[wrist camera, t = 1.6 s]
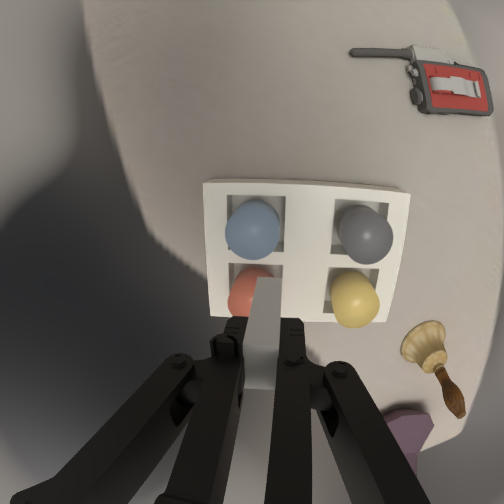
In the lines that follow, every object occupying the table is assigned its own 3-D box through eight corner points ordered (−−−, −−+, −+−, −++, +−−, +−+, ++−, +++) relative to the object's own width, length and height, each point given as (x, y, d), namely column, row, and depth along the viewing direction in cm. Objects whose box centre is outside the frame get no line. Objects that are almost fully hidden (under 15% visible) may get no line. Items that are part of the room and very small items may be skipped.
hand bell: (450, 317, 35) (497, 386, 21) (436, 357, 38) (471, 426, 24) (406, 323, 36) (447, 402, 22) (395, 363, 39) (422, 441, 25)
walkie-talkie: (475, 59, 22) (345, 47, 25) (492, 53, 18) (354, 35, 21) (487, 118, 25) (361, 116, 28) (506, 118, 21) (372, 112, 24)
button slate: (232, 199, 29) (224, 207, 26) (280, 200, 29) (279, 208, 25) (232, 244, 31) (225, 258, 27) (279, 246, 31) (278, 261, 27)
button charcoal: (338, 203, 28) (346, 212, 24) (383, 206, 28) (396, 215, 24) (334, 248, 30) (341, 263, 26) (377, 250, 29) (388, 265, 26)
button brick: (233, 265, 32) (226, 282, 28) (278, 267, 31) (277, 284, 28) (234, 304, 34) (228, 323, 30) (276, 306, 33) (275, 326, 30)
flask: (387, 445, 49) (400, 515, 30) (339, 433, 47) (345, 516, 29) (442, 406, 43) (468, 478, 24) (399, 387, 41) (427, 480, 23)
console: (212, 178, 32) (202, 183, 29) (397, 187, 30) (410, 193, 26) (217, 299, 38) (210, 315, 34) (378, 305, 36) (386, 321, 32)
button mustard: (332, 270, 31) (337, 287, 27) (373, 271, 30) (384, 288, 27) (326, 308, 33) (331, 328, 29) (366, 308, 32) (374, 328, 28)
